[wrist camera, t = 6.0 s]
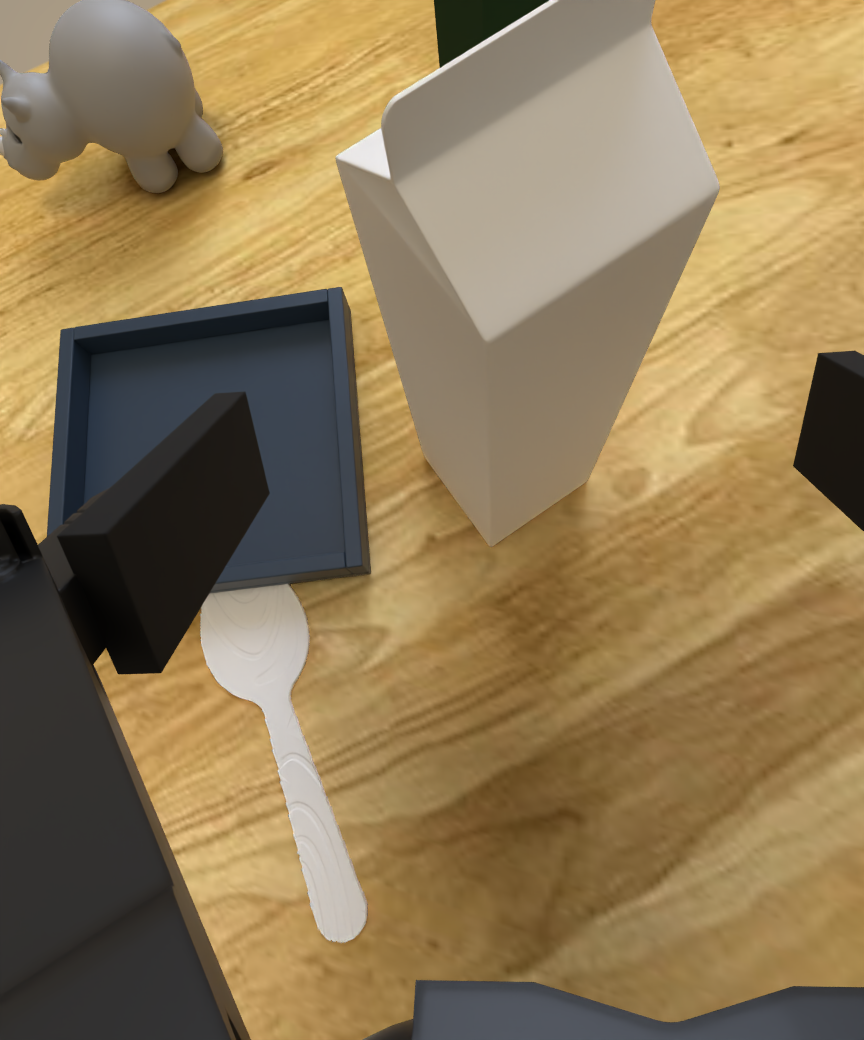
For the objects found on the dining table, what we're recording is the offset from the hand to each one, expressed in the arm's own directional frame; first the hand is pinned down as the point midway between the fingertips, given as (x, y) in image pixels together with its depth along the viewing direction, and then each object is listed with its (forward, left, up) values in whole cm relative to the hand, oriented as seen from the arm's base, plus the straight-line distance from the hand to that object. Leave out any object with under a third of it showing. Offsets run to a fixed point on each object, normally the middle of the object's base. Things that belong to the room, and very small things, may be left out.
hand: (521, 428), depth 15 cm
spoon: (+11, +7, -17) cm, 21 cm away
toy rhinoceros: (+20, -28, -16) cm, 38 cm away
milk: (-1, -5, -16) cm, 17 cm away
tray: (+14, -8, -16) cm, 23 cm away
